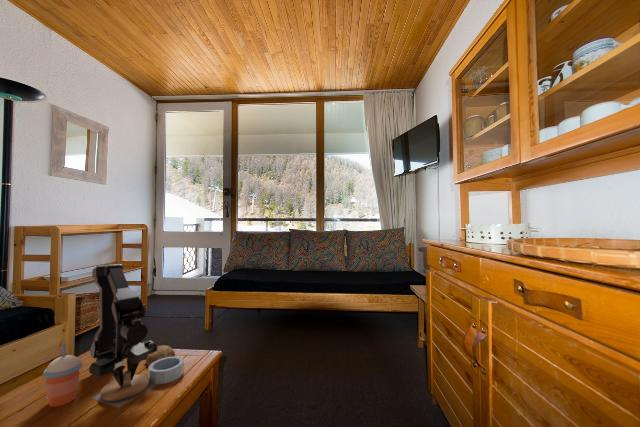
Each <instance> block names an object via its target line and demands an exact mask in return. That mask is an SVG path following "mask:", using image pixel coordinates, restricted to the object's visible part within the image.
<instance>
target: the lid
mask: <svg viewBox="0 0 640 427" xmlns="http://www.w3.org/2000/svg"><path fill="white" fill-rule="evenodd" d="M148 384H149V378H148V375H145V374H134V377H133V379H132V381H131V371H129V370H125V371H124V370H123V385H122V386H119V384H118V383H117V381H116V379H114V380H112V381H110V382H109V383H107V384H106V385H105V386H103V387H102V388H101V391H100V393H101V399H103V400H105V401H119V400H123V399H127V398H130V397H132V396H135V395H137V394H139V393H140V392H142V391H143V390H144V389H146V388H147V386H148Z"/></svg>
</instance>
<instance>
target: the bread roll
mask: <svg viewBox="0 0 640 427" xmlns="http://www.w3.org/2000/svg"><path fill="white" fill-rule="evenodd" d="M175 356H176V352H175V350H174V349H173V348H172V347H171V346H170V345H164V344H163V345H157V351H155V352H153V353H151V354H148V358H147V359H146V360H145V361H146V362H145V363H146V365H147V366H148V367H149V366H150V365H151V364H152V363H153V362H155V361H157V360H159V359H162V358H166V357H175Z"/></svg>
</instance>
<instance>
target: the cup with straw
mask: <svg viewBox="0 0 640 427" xmlns="http://www.w3.org/2000/svg"><path fill="white" fill-rule="evenodd" d="M66 345H67V344H66V342H65V341H64V342H62V343H61V356H59V357H57V358H55V359H54V360H52V361H51V362H50V363H49V364H48V366H47V367H46V368H45V369H44V371H43V373H42V376H43V377H44V378H45V388H46V396H47V400H48V406H49V407H51V408H52V407H53V408H55V407H61V406H63V405H66V404H68V403H70V402H72V401H74V399H76V396H77V389H78V387H79V380H80V369H81V368H82V366H83V361H82V360H79V358H78V357H77V356H75V355H71V354H67V355H66V351H67V350H66Z"/></svg>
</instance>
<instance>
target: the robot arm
mask: <svg viewBox="0 0 640 427" xmlns="http://www.w3.org/2000/svg"><path fill="white" fill-rule="evenodd" d="M123 269H124V266H123V264H122V263H109V264H100V265H99V264H98V265H96V266H95V267H94V268H93V269H92V271H91V273H92V274H91V276H92V278H93V280H94V283H95V285H96V286H97V287H98V288H99V328H98V329H97V331H96V333H95V334H94V341H92V344H91V347H90V351H89V352H90V356H91V358H92V359H95V361H94V362H92V363H91V364H90V365H89V368H88V370H89V374H92V375H94V376H98V377H102V376H105V375H107V374H109V373H111V374H112V375H113V377H114V380H116V381H117V383H118V384H119V386H122V385H123V372H124V370H125V368H127V370H126V371H128V370H129V371H131V381H132V379H133V377H134V375H136V371H137V369H138V366H139V364H140V363H141V362H142V361H146V359H147V358H148V354H151V353H153V352H155V351H157V347H158V344H157V343H156V342H154V341H152V340H145V339H146V338H147V335H148V333H149V332H148V331H149V330H148V327H147V325H145V324H144V323H142V320H141V318H145V313H146V309H145V306H144V302H143V300H142V298H141V297H140V296H139V294H138V292H136V291H135V290H132V289H131V288H130V286H129V284H128V281H127V278H126V276H125V274H124V270H123ZM144 340H145V341H144ZM125 361H126V366H125V365H123V363H124V362H125Z"/></svg>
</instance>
